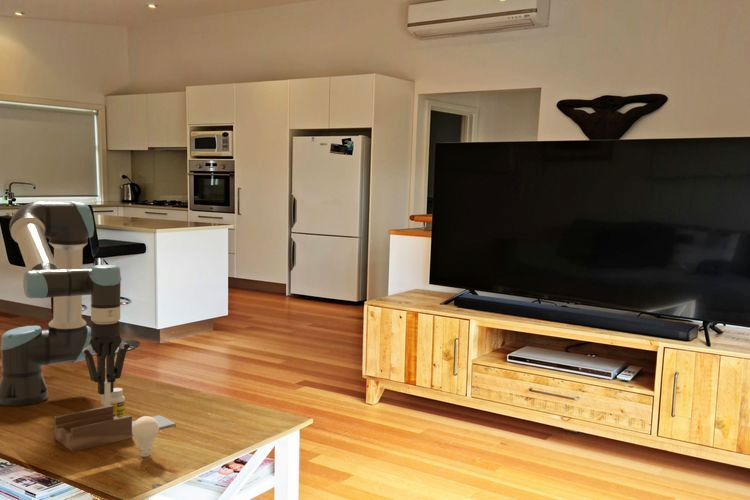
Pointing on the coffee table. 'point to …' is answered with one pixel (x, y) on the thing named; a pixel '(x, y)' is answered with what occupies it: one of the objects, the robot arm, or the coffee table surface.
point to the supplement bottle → (118, 402)
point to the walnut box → (91, 428)
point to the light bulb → (145, 434)
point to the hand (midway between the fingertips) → (105, 404)
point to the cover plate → (161, 422)
